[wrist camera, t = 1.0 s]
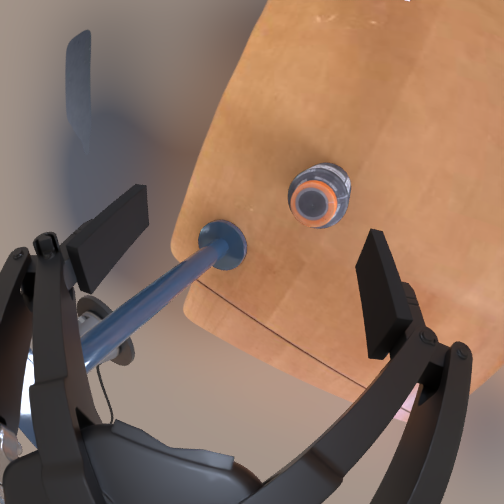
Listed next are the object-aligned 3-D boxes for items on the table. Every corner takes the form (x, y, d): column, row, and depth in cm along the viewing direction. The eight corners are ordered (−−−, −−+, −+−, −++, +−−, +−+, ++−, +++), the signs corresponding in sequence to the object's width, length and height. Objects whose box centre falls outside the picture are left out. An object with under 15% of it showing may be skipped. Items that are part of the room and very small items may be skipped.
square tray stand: (233, 280, 44) (57, 463, 13) (191, 247, 44) (-4, 390, 14) (260, 240, 39) (41, 453, 9) (213, 205, 40) (-33, 348, 10)
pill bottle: (322, 218, 35) (303, 250, 25) (294, 179, 34) (264, 196, 25) (360, 193, 32) (359, 216, 22) (332, 152, 31) (318, 157, 22)
